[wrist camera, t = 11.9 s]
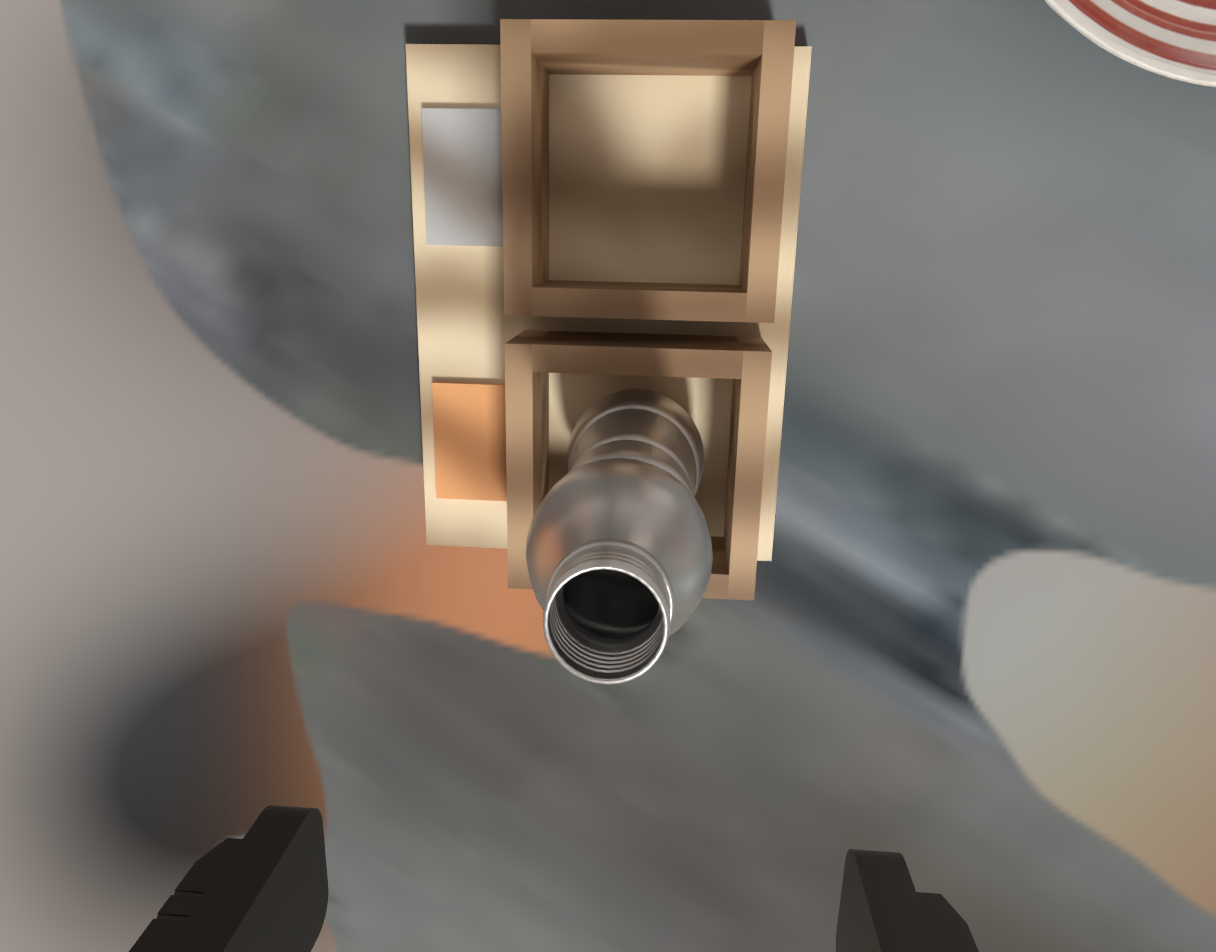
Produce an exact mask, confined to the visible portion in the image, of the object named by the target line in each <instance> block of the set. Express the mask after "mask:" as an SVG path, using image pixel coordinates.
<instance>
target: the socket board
mask: <svg viewBox="0 0 1216 952" xmlns="http://www.w3.org/2000/svg"><path fill="white" fill-rule="evenodd" d="M795 34H796V20H591V19H500V45H488V44H406V64H407V88H408V112H409V135H410V159H411V183H412V207H413V230H414V254H415V278H416V301H417V325H418V349H419V373H420V396H421V420H422V444H423V467H424V491H425V515H426V538H427V545H445V546H466V547H487V548H508V588H519V589H533V587H532V585H531V581H530V578H529V574H528V568H527V561H526V541H527V535H528V531H529V527H530V523H531V521H532V519H533V516H534V514H535V512H536V510H537V508H538V506H539V505H540V503H541V502H542V501H543V499H544V498H545V496H546V495H547V494H548V493H549V491H550V490H551V489H552V487H553V486H554V485H555V484H556V483H557V482H558V481H560V480H561V479H562V478H563V477H564V476H565V475H567V474H568V447H569V443H570V439H571V435H572V432H573V430H574V428H575V426H576V424H577V422H578V420H579V419H580V418H581V416H582V415H583V414H584V412H585V411H586V410H587V409H588V408H589V407H591V406H592V405H593V404H594V403H595V402H596V401H598V400H600V399H602V398H603V397H605V396H607V395H609V394H612V393H615V392H618V391H621V390H625V389H634V388H639V389H649V390H652V391H655V392H659V393H661V394H663V395H665V396H667V397H669V398H671V399H672V400H673V401H675V402H676V403H677V404H678V405H679V406H681V407H682V408H683V409H684V410H685V411H686V412H687V414H688V415H689V416H690V417H691V418H692V420H693V421H694V423H695V425H696V427H697V429H698V431H699V433H700V436H701V439H702V443H703V446H704V457H705V461H704V471H703V475H702V479H701V482H700V485H699V488H698V491H697V493H696V495H695V497H694V498H695V499H696V501H697V503H698V505H699V507H700V508H701V510H702V512H703V514H704V517H705V520H706V524H707V527H708V530H709V534H710V538H711V544H712V554H713V561H712V570H711V577H710V580H709V583H708V586H707V589H706V592H705V594H704V596H703V598H716V599H735V600H754V592H755V578H756V565H757V560H760V561H771V559H772V546H773V534H774V521H775V508H776V495H777V483H778V470H779V457H780V445H781V432H782V419H783V406H784V394H785V381H786V368H787V355H788V343H789V330H790V317H791V305H792V292H793V279H794V266H795V254H796V241H797V228H798V215H799V203H800V190H801V177H802V164H803V152H804V139H805V126H806V114H807V101H808V88H809V75H810V63H811V50H812V46H795Z"/></svg>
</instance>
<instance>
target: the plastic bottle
mask: <svg viewBox="0 0 1216 952" xmlns="http://www.w3.org/2000/svg"><path fill="white" fill-rule="evenodd" d="M704 461H705V457H704V446H703V443H702V439H701V436H700V433H699V431H698V429H697V427H696V425H695V423H694V421H693V420H692V418H691V417H690V416H689V415H688V414H687V412H686V411H685V410H684V409H683V408H682V407H681V406H679V405H678V404H677V403H676V402H675V401H673V400H672V399H671V398H669V397H667V396H665V395H663V394H661V393H659V392H655V391H652V390H649V389H639V388H634V389H625V390H621V391H618V392H615V393H612V394H609V395H607V396H605V397H603V398H602V399H600V400H598V401H596V402H595V403H594V404H593V405H592V406H591V407H589V408H588V409H587V410H586V411H585V412H584V414H583V415H582V416H581V418H580V419H579V420H578V422H577V424H576V426H575V428H574V430H573V432H572V435H571V439H570V443H569V447H568V474H567V475H565V476H564V477H563V478H562V479H561V480H560V481H558V482H557V483H556V484H555V485H554V486H553V487H552V489H551V490H550V491H549V493H548V494H547V495H546V496H545V498H544V499H543V501H542V502H541V503H540V505H539V506H538V508H537V510H536V512H535V514H534V516H533V519H532V521H531V523H530V527H529V531H528V535H527V541H526V561H527V568H528V574H529V578H530V581H531V585H532V587H533V590H534V593H535V596H536V598H537V600H538V602H539V604H540V605H541V607H542V609H543V610H544V611H543V627H544V634H545V638H546V641H547V643H548V646H549V648H550V650H551V652H552V653H553V655H554V657H555V658H556V659H557V660H558V661H559V663H560V664H561V665H562V666H563V667H564V668H566V669H567V670H568V671H569V672H571V673H572V674H574V675H576V676H578V677H580V678H582V679H584V680H587V681H590V682H594V683H600V684H618V683H623V682H626V681H630V680H632V679H635V678H637V677H639V676H641V675H642V674H644V673H645V672H646V671H648V670H649V669H650V668H651V667H652V666H653V665H654V664H655V663H656V661H657V660H658V659H659V657H660V656H661V654H662V652H663V650H664V648H665V646H666V643H667V640H668V637H669V636H670V635H672V634H673V633H674V632H676V631H677V630H678V629H680V628H681V626H682V625H683V624H684V623H685V622H686V621H687V620H688V618H689V617H690V616H691V615H692V614H693V612H694V611H695V609H696V608H697V606H698V605H699V603H700V601H701V599H702V598H703V596H704V594H705V592H706V589H707V586H708V583H709V580H710V577H711V570H712V561H713V554H712V544H711V538H710V534H709V530H708V527H707V524H706V520H705V517H704V514H703V512H702V510H701V508H700V507H699V505H698V503H697V501H696V499H695V498H694V497H695V495H696V493H697V491H698V488H699V485H700V482H701V479H702V475H703V471H704Z"/></svg>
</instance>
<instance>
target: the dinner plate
mask: <svg viewBox="0 0 1216 952" xmlns="http://www.w3.org/2000/svg"><path fill="white" fill-rule="evenodd" d="M1044 1H1045V2H1046V3H1047V4H1048V5H1049V6H1050V7H1051V8H1052V9H1053V10H1054V11H1055V12H1056V13H1057V14H1058V15H1060V16H1061V17H1062V18H1063V19H1064V20H1065V21H1067V22H1068V23H1069V24H1070V25H1071V26H1073V27H1074V28H1075V29H1076V30H1078V31H1079V32H1080V33H1081V34H1083V35H1084V36H1085V37H1087V38H1088V39H1090V40H1091V41H1092V42H1094V43H1095V44H1097V45H1098V46H1100V47H1101V48H1103V49H1105V50H1107V51H1108V52H1110V53H1112V54H1114V55H1115V56H1117V57H1119V58H1121V59H1123V60H1125V61H1127V62H1129V63H1131V64H1134V65H1136V66H1138V67H1141V68H1143V69H1145V70H1148V71H1151V72H1154V73H1157V74H1160V75H1163V76H1166V77H1169V78H1172V79H1176V80H1180V81H1184V82H1189V83H1193V84H1198V85H1204V86H1212V87H1216V0H1044Z"/></svg>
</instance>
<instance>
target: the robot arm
mask: <svg viewBox="0 0 1216 952" xmlns="http://www.w3.org/2000/svg"><path fill="white" fill-rule="evenodd" d="M327 903H328V879H327V868H326V856H325V845H324V833H323V822H322V816H321V813H320V811H319V810H318V809H316V808H302V807H289V806H275V805H270V806H268V807H266V808H265V809H264V810H263V811H262V813H261V814H260V815H259V817H258V818H257V820H256V821H255V822H254V824H253V825H252V827H251V828H250V830H249V831H248V832H247V834H246V835H245V837H244V838H243V839H234V838H227V839H225V840H224V841H223V842H221V843H220V844H219V845H217V846H216V847H215V848H213V849H212V850H211V851H209V852H208V853H207V854H205V855H204V856H203V857H201V858H200V859H199V860H197V861H196V862H195V864H194V865H193V866H192V868H191V869H190V870H189V872H188V873H187V874H186V876H185V877H184V878H183V880H182V881H181V882H180V884H179V885H178V887H177V888H176V889H175V893H174V895H171V896H170V897H169V899H168V900H167V901H166V903H165V904H164V905H163V907H162V908H161V909H160V911H159V912H158V916H157V918H156V919H153V920H152V921H151V923H150V924H149V925H148V927H147V928H146V929H145V931H144V932H143V933H142V935H141V936H140V937H139V939H138V941H136V943H135V944H134V946H133V947H132V948H131V950H130V951H129V952H311V950H312V948H313V946H314V944H315V942H316V940H317V938H318V936H319V933H320V931H321V928H322V925H323V922H324V918H325V914H326V909H327ZM836 952H978V949H977V947H976V944H975V942H974V939H973V937H972V934H971V932H970V929H969V927H968V925H967V923H966V922H965V921H964V920H963V918H962V917H961V916H960V915H959V914H958V913H957V912H956V911H955V909H954V908H953V907H952V906H951V905H950V904H949V903H948V902H947V901H946V899H945V898H944V897H943V896H942V895H941V894H934V893H921V892H916V890H915V888H914V885H913V882H912V879H911V876H910V873H909V871H908V868H907V865H906V862H905V860H904V857H903V856H902V854H901V853H895V852H881V851H868V850H854V849H850V850H849V851H848V852H847V855H846V860H845V868H844V876H843V884H842V891H841V899H840V907H839V915H838V923H837V932H836Z"/></svg>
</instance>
